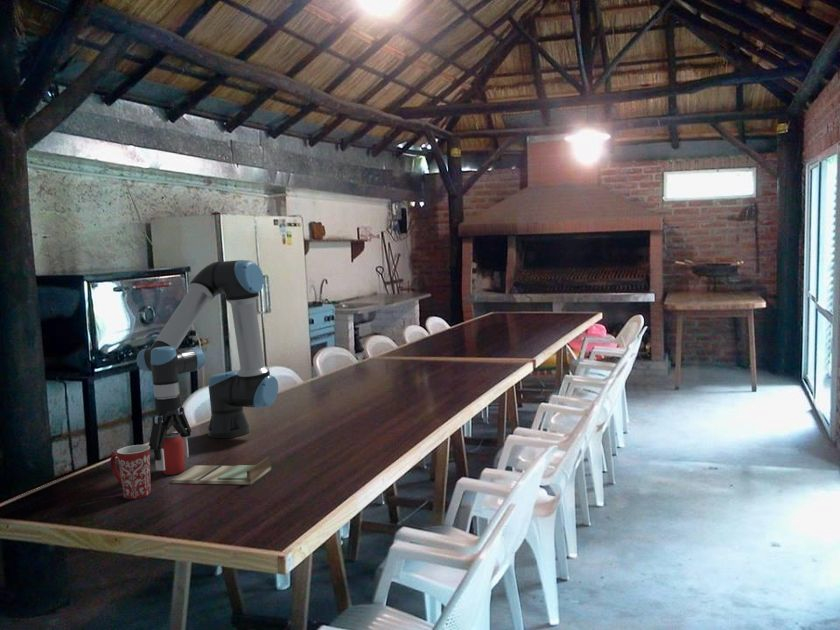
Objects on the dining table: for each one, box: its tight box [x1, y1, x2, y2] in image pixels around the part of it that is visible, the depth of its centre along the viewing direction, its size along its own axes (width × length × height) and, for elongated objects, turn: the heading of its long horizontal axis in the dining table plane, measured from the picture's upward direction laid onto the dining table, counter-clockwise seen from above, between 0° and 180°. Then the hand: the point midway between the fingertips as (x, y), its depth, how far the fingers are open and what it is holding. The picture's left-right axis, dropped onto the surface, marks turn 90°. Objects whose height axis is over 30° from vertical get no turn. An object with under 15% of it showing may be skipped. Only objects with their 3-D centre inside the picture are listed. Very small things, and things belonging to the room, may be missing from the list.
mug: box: [109, 444, 152, 500], centre depth 209 cm, size 13×9×14 cm
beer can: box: [161, 432, 186, 476], centre depth 228 cm, size 7×7×12 cm
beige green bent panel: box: [170, 456, 272, 486], centre depth 222 cm, size 26×14×4 cm, turn 77°
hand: (172, 463), depth 228 cm, fingers open, 13 cm apart
